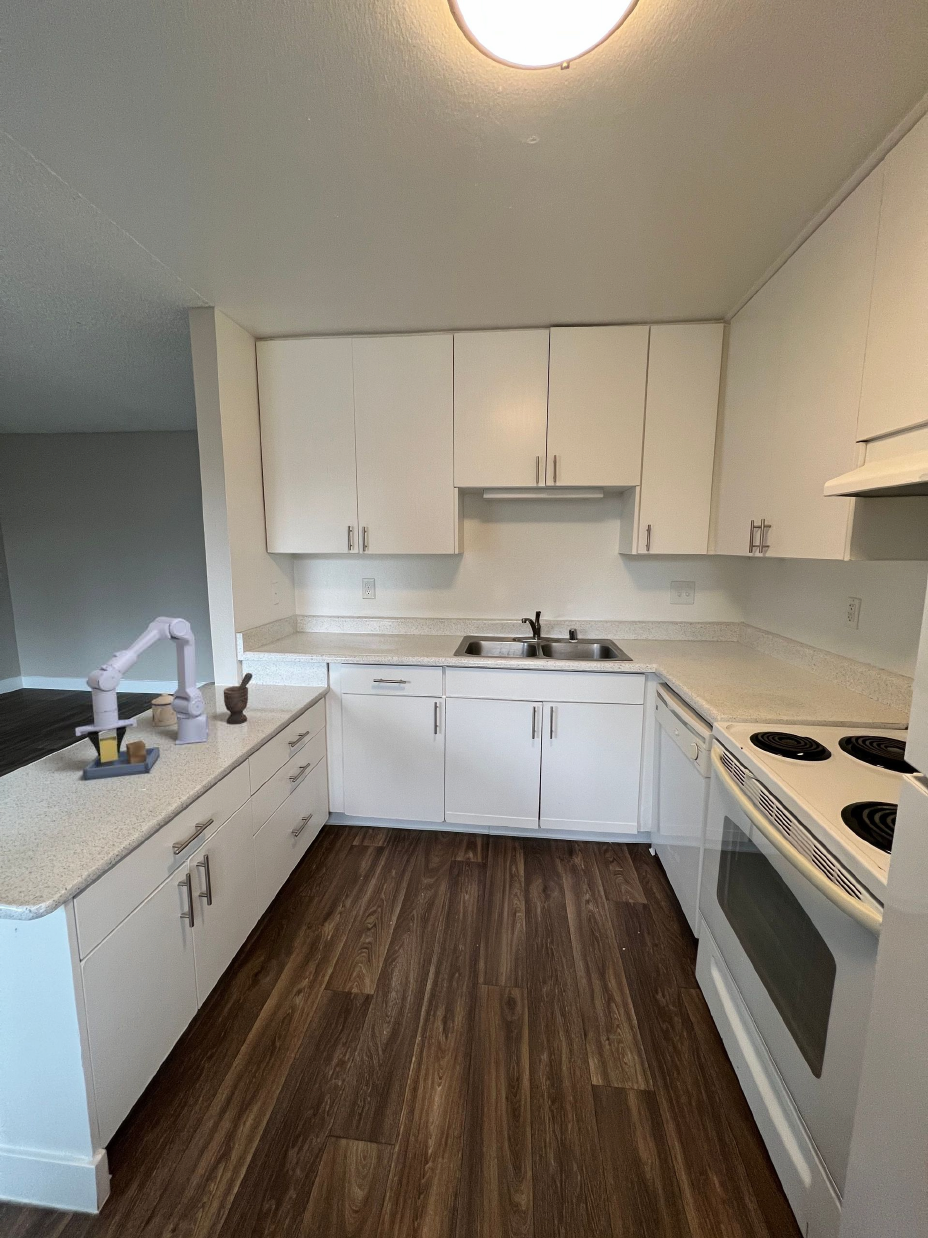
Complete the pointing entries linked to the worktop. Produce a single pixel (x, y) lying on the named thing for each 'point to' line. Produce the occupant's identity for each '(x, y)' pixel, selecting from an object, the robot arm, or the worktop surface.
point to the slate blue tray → (120, 766)
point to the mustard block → (108, 749)
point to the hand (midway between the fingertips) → (109, 753)
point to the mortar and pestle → (237, 700)
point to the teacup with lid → (163, 711)
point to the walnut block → (136, 752)
